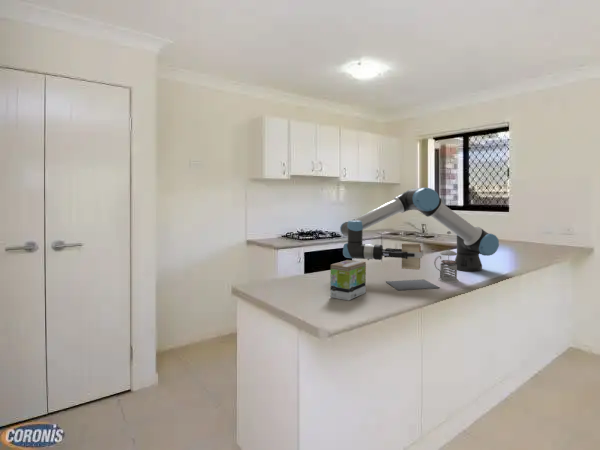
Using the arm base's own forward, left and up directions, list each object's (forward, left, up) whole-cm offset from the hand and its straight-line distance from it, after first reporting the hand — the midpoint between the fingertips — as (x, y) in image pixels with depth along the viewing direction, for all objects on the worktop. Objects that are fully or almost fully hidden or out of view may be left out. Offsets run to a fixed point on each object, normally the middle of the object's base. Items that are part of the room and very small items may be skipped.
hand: (422, 254), depth 172 cm
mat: (+4, -3, -15) cm, 16 cm away
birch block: (+5, -3, -7) cm, 9 cm away
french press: (-17, -9, -16) cm, 24 cm away
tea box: (+38, +8, -16) cm, 42 cm away
